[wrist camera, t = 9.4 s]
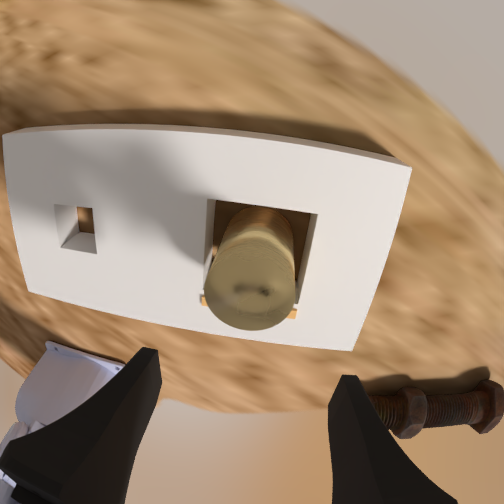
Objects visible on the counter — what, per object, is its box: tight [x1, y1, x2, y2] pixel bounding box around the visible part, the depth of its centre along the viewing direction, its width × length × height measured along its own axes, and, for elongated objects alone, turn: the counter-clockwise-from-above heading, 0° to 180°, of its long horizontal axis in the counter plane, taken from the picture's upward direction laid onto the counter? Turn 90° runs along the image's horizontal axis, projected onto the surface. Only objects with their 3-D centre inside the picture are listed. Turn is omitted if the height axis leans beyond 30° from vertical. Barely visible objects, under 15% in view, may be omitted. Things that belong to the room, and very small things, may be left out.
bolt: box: [368, 380, 504, 439], centre depth 23 cm, size 6×5×15 cm
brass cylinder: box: [204, 206, 295, 331], centre depth 17 cm, size 4×4×6 cm
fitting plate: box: [2, 124, 412, 351], centre depth 18 cm, size 24×12×3 cm, turn 84°
